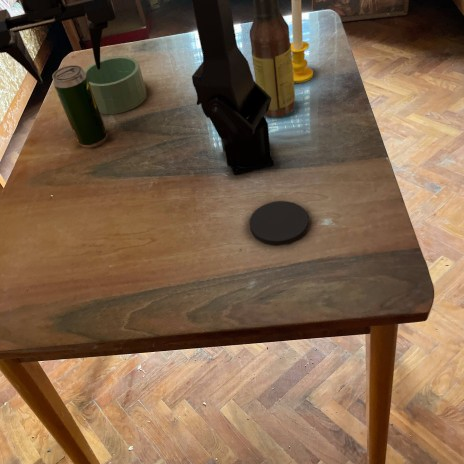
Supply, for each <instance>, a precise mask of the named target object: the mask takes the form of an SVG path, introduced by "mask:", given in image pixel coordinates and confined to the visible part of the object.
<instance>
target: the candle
mask: <svg viewBox="0 0 464 464" xmlns="http://www.w3.org/2000/svg"><path fill="white" fill-rule="evenodd" d="M291 27H292V28H291V30H292V42H290V44H291V53H292V64H293V76H294V84H301V83H302V84H303V83H306V82H308V81H310V80H311V79H312V78H313V77H314V70H313V69H312V68H311V67H309V66H308V60H307V59H305V56H306V55H305V51H306V50H308V49H309V48H310V44H309V42H307V41H303V40H304V39H303V13H302V0H291Z"/></svg>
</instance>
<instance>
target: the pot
mask: <svg viewBox="0 0 464 464" xmlns="http://www.w3.org/2000/svg"><path fill="white" fill-rule="evenodd" d="M83 71H84V72H85V73H86V75H87V78H88V81H89V83H90V86H91V89H92V92H93V95H94V97H95V100H96V103H97V106H98V109H99V111H100V114H102V115H117V114H121V113H125V112H128V111H131V110H133V109H135V108H137V107H138V106H140V105H142V103H143V102H144V101H145V100H146V98H147V95H148V93H147V88H146V84H145V81H144V78H143V73H142V71H141V67H140V63H139V61H138V60H137V59H135V57H130V56H125V55H123V56H122V55H121V56H111V57H107V58H103V59H100V69H99V70H98V69H97V66H96V63H95V62H94V63H92V64H91V65H89V66H88V67H87V68H86V69H85V70H83Z"/></svg>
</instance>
